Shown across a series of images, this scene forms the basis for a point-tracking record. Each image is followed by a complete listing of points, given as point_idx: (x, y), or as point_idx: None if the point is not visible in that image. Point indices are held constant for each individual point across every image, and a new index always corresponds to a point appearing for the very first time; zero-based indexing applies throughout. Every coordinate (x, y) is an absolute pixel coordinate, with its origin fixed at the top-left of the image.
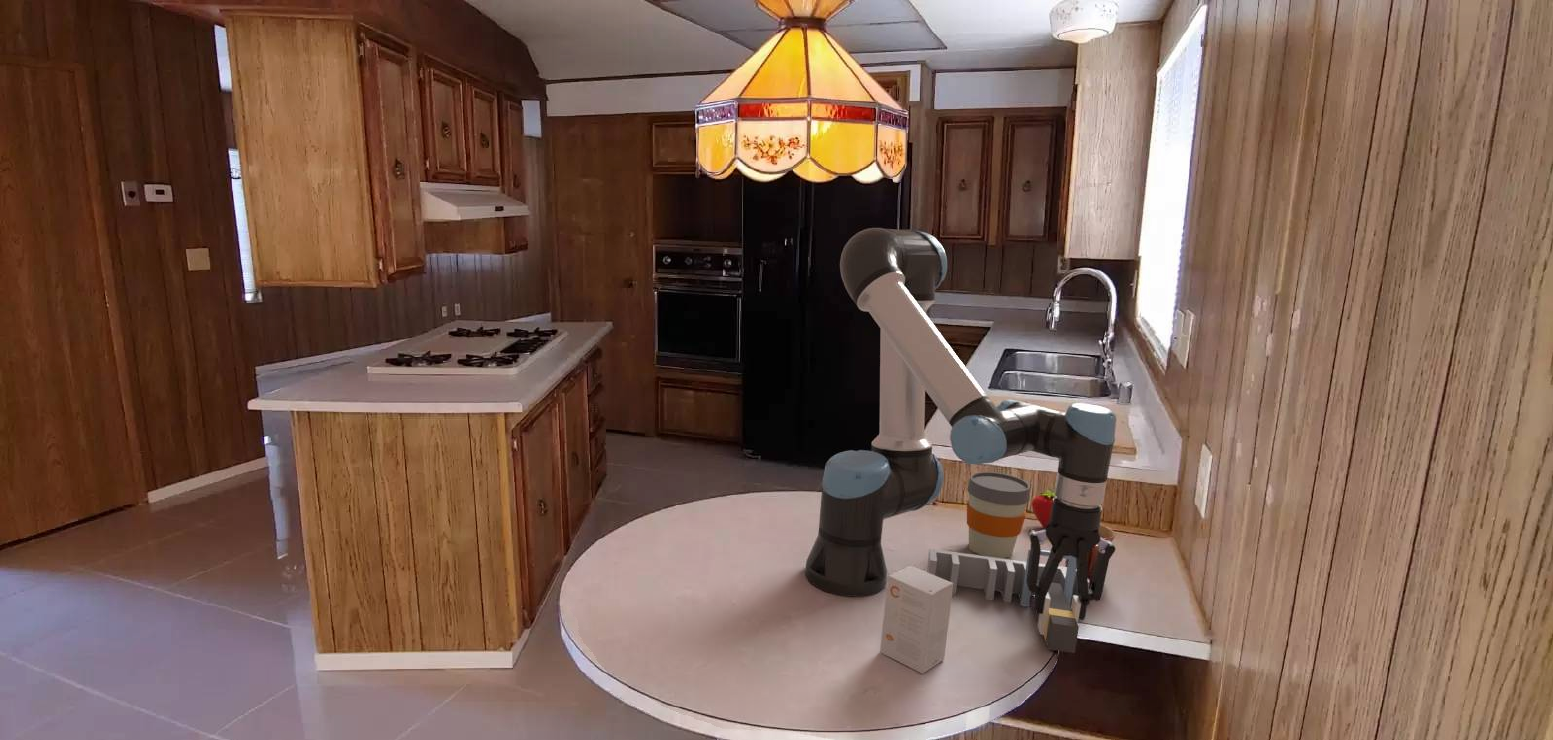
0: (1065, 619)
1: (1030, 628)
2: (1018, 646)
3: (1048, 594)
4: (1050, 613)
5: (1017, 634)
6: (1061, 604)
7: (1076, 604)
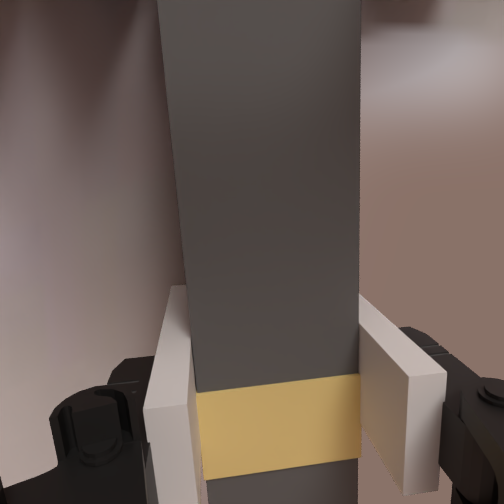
0: (296, 487)
1: (145, 251)
2: None
3: (188, 455)
4: (210, 465)
5: (83, 332)
6: (304, 292)
7: (399, 482)
